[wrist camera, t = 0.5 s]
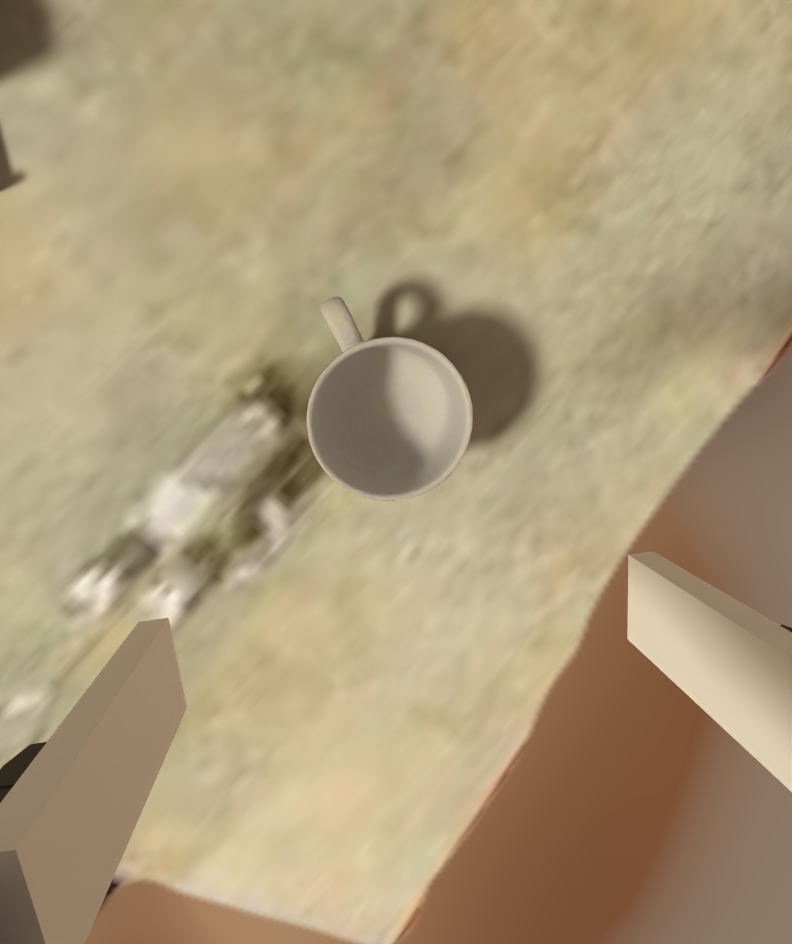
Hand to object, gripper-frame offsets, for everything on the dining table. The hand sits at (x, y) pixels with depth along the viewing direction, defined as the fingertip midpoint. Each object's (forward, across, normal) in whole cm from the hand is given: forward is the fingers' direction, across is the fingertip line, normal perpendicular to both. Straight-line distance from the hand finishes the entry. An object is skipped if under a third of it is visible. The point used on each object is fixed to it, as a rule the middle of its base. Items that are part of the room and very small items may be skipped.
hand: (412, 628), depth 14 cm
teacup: (+27, +2, +5) cm, 28 cm away
